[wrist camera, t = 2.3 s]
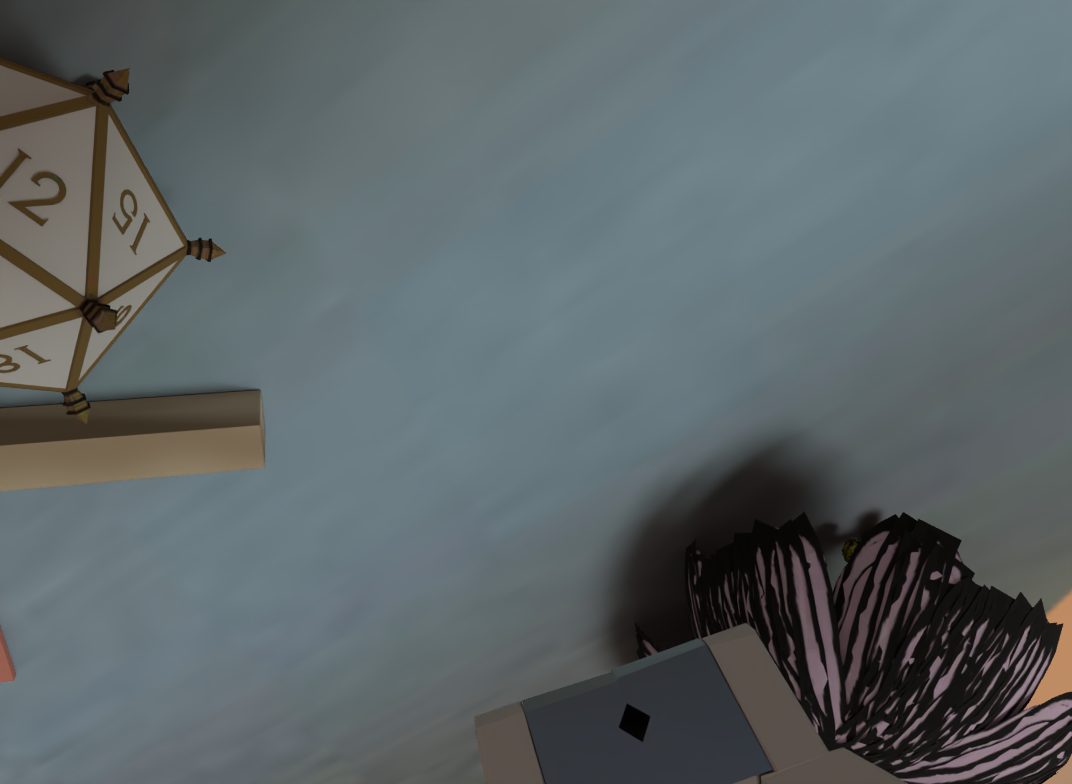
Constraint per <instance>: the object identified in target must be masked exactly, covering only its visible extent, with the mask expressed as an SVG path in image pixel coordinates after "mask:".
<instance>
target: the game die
mask: <svg viewBox="0 0 1072 784" xmlns="http://www.w3.org/2000/svg"><path fill="white" fill-rule="evenodd" d="M103 75H104V77H103V78H102V79H101V80H97V81H93V82H89V83H86V84H85V86H86V88H85V87H82V86H79V85H76V84H73V83H71V82H68V81H65V80H62V79H59V78H56V77H53V76H51V75H48V74H45V73H42V72H39V71H36V70H33V69H31V68H28V67H25V66H22V65H19V64H16V63H14V62H11V61H8V60H5V59H2V58H0V386H1V387H12V388H23V389H34V390H45V391H56V392H62V394H63V395H64V403H63V406H66V408H67V410H68V412H67V413H66V414H67V415H72V416H73V417H75V418H77V419H79V420H80V421H82V422H84V423H86V424H87V419H88V412H89V409H90V408H91V406H90V403H89V402H88V403H87V402H86V396H85V394H81V392H80V391H79V390H78V389H77V387H78V386H79V384H80V383H81V382H82V381H83V380H84V378H85V377H86V376H87V375H88V374H89V372H90V371H91V370H92V369H93V368H94V366H95V365H96V364H97V363H98V361H99V360H100V359H101V358H102V357H103V355H104V354H105V353H106V352H107V351H108V349H109V348H110V347H111V346H112V345H113V343H114V342H115V341H116V340H117V338H118V337H119V336H120V335H121V334H122V332H123V331H124V330H125V329H126V328H127V326H128V325H129V324H130V323H131V321H132V320H133V319H134V318H135V317H136V315H137V314H138V313H139V312H140V311H141V309H142V308H143V307H144V306H145V305H146V303H147V302H148V301H149V300H150V298H151V297H152V296H153V295H154V294H155V292H156V291H157V290H158V289H159V288H160V286H161V285H162V284H163V283H164V282H165V280H166V279H167V278H168V277H169V275H170V274H171V273H172V272H173V271H174V269H175V268H176V267H177V266H178V265H179V263H180V262H181V261H182V260H183V258H184V257H185V256H186V255H192V256H195V257H196V259H198V260H201V258H202V259H206V260H207V261H208V262H211V259H214V258H216V257H219V256H221V255H223V254H226V252H224V251H223V250H222V249H221V248H219V247H218V246H217V245H216V244H214V243H213V242H212V239H209V241H207V240H202V238H199V239H198V240H195V241H189V240H187V239H186V237H185V235H184V234H183V232H182V230H181V228H180V227H179V225H178V223H177V221H176V219H175V218H174V216H173V214H172V212H171V211H170V209H169V207H168V205H167V204H166V202H165V200H164V198H163V196H162V195H161V193H160V191H159V189H158V188H157V186H156V184H155V182H154V181H153V179H152V177H151V175H150V173H149V172H148V170H147V168H146V166H145V165H144V163H143V161H142V159H141V158H140V156H139V154H138V152H137V150H136V149H135V147H134V145H133V143H132V142H131V140H130V138H129V136H128V135H127V133H126V131H125V129H124V127H123V126H122V124H121V122H120V120H119V119H118V117H117V115H116V113H115V112H114V110H113V108H112V106H111V104H110V103H112V102H114V101H116V100H117V101H119V102H120V101H121V100H122V96H123V95H124V94H127V95H128V94H129V83H128V78H129V68H128V69H124V70H119V71H114V70H111V71H106V72H103Z"/></svg>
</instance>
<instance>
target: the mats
mask: <svg viewBox="0 0 1072 784" xmlns="http://www.w3.org/2000/svg"><path fill="white" fill-rule="evenodd" d="M15 676H16V672H15V669H14V666H13V663H12V660H11V657H10V654H9V651H8V648H7V645H6V642H5V639H4V636H3V633H2V630H1V627H0V682H7V681H14V679H15Z"/></svg>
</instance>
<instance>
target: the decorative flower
mask: <svg viewBox="0 0 1072 784" xmlns="http://www.w3.org/2000/svg"><path fill="white" fill-rule="evenodd" d="M961 541H962V540H960V539H958V538H956V537H954V536H952V535H950V534H948V533H946V532H944V531H942V530H940V529H938V528H936V527H934V526H932V525H930V524H928V523H926V522H924V521H922V520H920V519H918V521H917V520H915V519H913V518H912V517H910V516H909V515H907V514H906V513H904V512H903V513H902V515H901V516H900V518H898V516H897V515H896V514H895V515H893V516H891V517H889V518H887V519H885V520H884V521H882V522H880V523H878V524H877V525H876V526H875V527H874V528H873V529H871V530H870V531H869V532H868V533H867V534H866V535H865V536H864V538H863V539H862V540H860V539H850V540H848V541H847V542H845V544H844V546H843V549H842V555H843V556H844V559H845V561H846V562H848V564H847V565H846V566H845V567H844V569H843V570H842V572H841V574H840V576H839V578H838V579H837V581H836V584H835V587H834V590H833V592H832V587H831V584H830V580H829V576H828V572H827V563H826V560H825V557H824V554H823V551H822V550H821V547H820V544H819V541H818V538H817V536H816V534H815V532H814V530H813V528H812V526H811V524H810V522H809V520H808V518H807V516H806V514H805V512H803V513H802V514H801V515H800V516H798V517H797V518H796V519H795V520H794V521H793V522H792V520H789V521H788V522H787V523H786V524H784V525H783V526H782V527H771V526H769V525H767V524H764V523H762V522H760V521H758V520H755V523H754V528H753V532H752V533H735V535H734V543H732V544H730V545H727V546H725V547H723V548H720V549H718V550H716V551H715V554H716V555H711V559H710V560H707V559H705V554H701V553H700V551H699V550H698V549H697V548H696V539H695V540H694V541H693V542H692V543H691V544H690V545H689V546H688V547H687V549H686V553H685V589H686V598H687V605H688V613H689V620H690V625H691V629H692V633H693V636H694V640H695V639H700V640H701V639H702V638H704V637H707V636H710V635H713V634H716V633H718V632H721V631H724V630H727V629H730V628H732V627H735V626H738V625H741V624H744V623H746V624H748V625H749V626H750V627H752V628H753V629H754V630H755V631H756V633H757V635H758V636H759V638H760V640H761V641H762V643H763V644H764V646H765V648H766V649H767V651H768V653H769V654H770V656H771V658H772V659H773V661H774V663H775V664H776V666H777V667H778V669H779V671H780V672H781V674H782V676H783V677H784V679H785V681H786V682H787V684H788V685H789V687H790V689H791V690H792V692H793V694H794V695H795V697H796V699H797V700H798V702H799V703H800V705H801V707H802V708H803V710H804V712H805V713H806V715H807V717H808V718H809V720H810V721H811V723H812V725H813V726H814V728H815V730H816V731H817V733H818V735H819V736H820V738H821V739H822V741H823V743H824V744H825V746H826V748H827V749H828V751H832V750H835V749H839V748H842V747H844V748H845V749H847V750H849V751H851V752H853V753H854V754H856V755H858V756H860V757H861V758H863V759H865V760H867V761H869V762H870V763H872V764H874V765H876V766H877V767H879V768H881V769H883V770H885V771H886V772H888V773H890V774H892V775H894V776H895V777H897V778H899V779H901V780H902V781H904V782H906V783H908V784H1042V783H1044V782H1045V781H1046V780H1048V779H1049V778H1051V777H1052V776H1053V775H1055V774H1056V771H1058V770H1059V769H1060V768H1062V767H1063V766H1064V765H1065V764H1066V763H1067V762H1068V760H1069V758H1070V756H1071V754H1072V692H1067V693H1064V694H1062V695H1059V696H1057V697H1054V698H1052V699H1050V700H1048V701H1047V702H1045V703H1043V704H1041V705H1036V706H1033V707H1031V708H1028V709H1026V710H1024V708H1025V707H1026V706H1027V704H1028V703H1029V701H1030V700H1031V698H1032V696H1033V695H1034V693H1035V691H1036V689H1037V687H1038V685H1039V683H1040V682H1041V680H1042V679H1043V677H1044V675H1045V673H1046V671H1047V669H1048V667H1049V665H1050V663H1051V661H1052V659H1053V657H1054V655H1055V652H1056V649H1057V645H1058V641H1059V638H1060V634H1061V630H1062V627H1063V624H1059V625H1056V624H1057V623H1049V622H1048V620H1047V618H1046V615H1045V611H1044V607H1043V603H1042V599H1040V600H1039V601H1038V603H1037V604H1036V605H1035V607H1034V608H1033V607H1032V606H1031V605H1030V604H1029V602H1028V601H1027V599H1026V598H1025V597H1024V595H1023V594H1022V593H1021V592H1020V593H1019V595H1018V596H1017V598H1016V600H1015V599H1013V598H1012V597H1010V596H1008V595H1007V594H1005V593H1003V592H1001V591H1000V590H998V589H996V588H995V587H993V586H991V588H990V590H989V589H988V588H987V587H986V586H985V585H984V586H983V587H981V586H979V585H977V584H975V583H974V582H973V581H972V578H973V576H974V574H975V573H974V572H973V571H971V570H970V569H969V568H968V567H966V566H965V565H964V564H963V562H962V560H961V557H960V555H959V553H958V551H957V550H958V547H959V545H960V543H961ZM635 626H636V632H637V635H636V637H637V641H638V645H639V648H638V650H637V654H638V656H639V658H640V659H643V658H645V657H648V656H651V655H654V654H656V653H659V652H660V650H659V649H658V647H657V646H656V644H655V643H654V642H653V641H652V640H651V639H650V638H649V637H648V636H647V635H646V634H645V633H644V632H643V631H642V630H641V628H640V627H639V626H638V625H637V624H636V623H635Z"/></svg>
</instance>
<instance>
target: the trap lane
mask: <svg viewBox="0 0 1072 784" xmlns="http://www.w3.org/2000/svg"><path fill="white" fill-rule="evenodd" d="M87 403H88V402H87ZM89 403H90V406H91V408H90V409H89V412H88V419H87V424H86V423H84V422H82V421H80V420H79V419H77V418H75V417H73V416H72V415H67V414H66V413H67V412H68V410H67V408H66V406H63V404H56V405H41V406H27V407H13V408H0V491H11V490H22V489H34V488H45V487H56V486H67V485H78V484H89V483H100V482H112V481H123V480H134V479H145V478H156V477H167V476H179V475H190V474H201V473H212V472H223V471H234V470H246V469H257V468H265V424H264V415H263V406H262V397H261V390H254V391H240V392H226V393H212V394H198V395H183V396H169V397H155V398H141V399H127V400H112V401H98V402H89Z"/></svg>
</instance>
